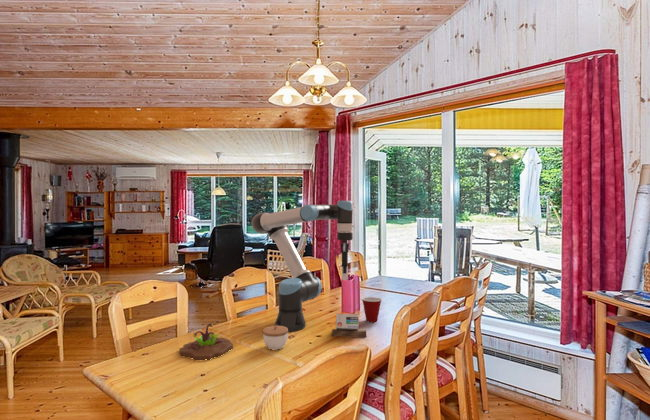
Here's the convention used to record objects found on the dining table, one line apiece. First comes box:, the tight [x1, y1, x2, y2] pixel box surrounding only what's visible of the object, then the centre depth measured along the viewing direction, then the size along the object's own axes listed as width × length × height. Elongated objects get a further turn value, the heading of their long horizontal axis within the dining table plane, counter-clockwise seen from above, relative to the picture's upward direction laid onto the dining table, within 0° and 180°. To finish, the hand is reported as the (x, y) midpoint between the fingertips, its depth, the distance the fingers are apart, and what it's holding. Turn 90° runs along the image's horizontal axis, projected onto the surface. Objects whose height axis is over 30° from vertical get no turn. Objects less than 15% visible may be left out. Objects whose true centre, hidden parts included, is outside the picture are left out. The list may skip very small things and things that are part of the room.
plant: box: [178, 322, 234, 361], centre depth 153 cm, size 20×20×11 cm
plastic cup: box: [361, 296, 383, 323], centre depth 191 cm, size 11×11×12 cm
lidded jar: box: [262, 325, 289, 351], centre depth 156 cm, size 11×11×9 cm
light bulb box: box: [335, 313, 360, 330], centre depth 172 cm, size 11×7×11 cm
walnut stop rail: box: [331, 328, 367, 338], centre depth 169 cm, size 16×2×2 cm, turn 84°
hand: (344, 279), depth 179 cm, fingers closed
